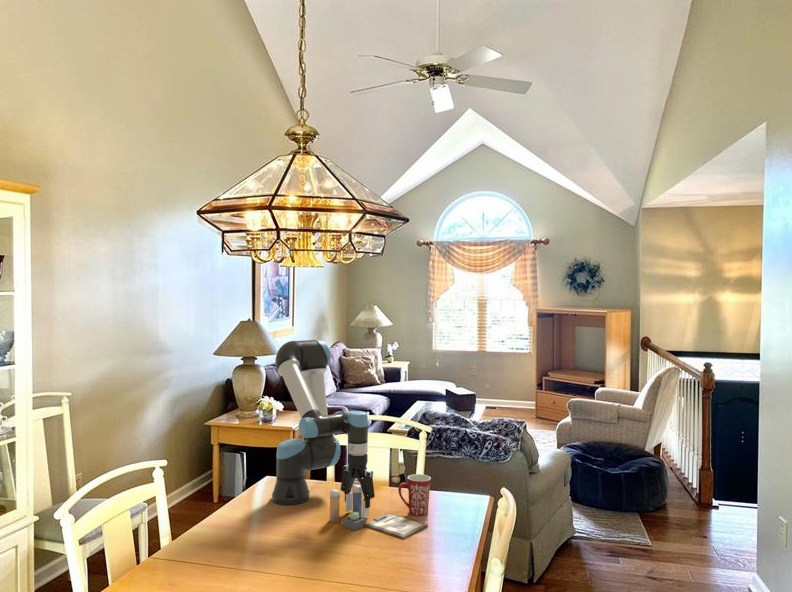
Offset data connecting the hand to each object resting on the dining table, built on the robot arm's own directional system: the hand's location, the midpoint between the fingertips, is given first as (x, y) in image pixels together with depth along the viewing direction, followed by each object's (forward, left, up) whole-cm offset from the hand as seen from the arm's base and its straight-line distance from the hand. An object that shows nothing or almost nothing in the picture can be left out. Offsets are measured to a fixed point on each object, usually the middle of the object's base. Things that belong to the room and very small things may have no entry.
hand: (357, 513), depth 223 cm
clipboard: (+18, +1, -1) cm, 18 cm away
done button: (+6, -8, +1) cm, 10 cm away
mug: (+15, +16, -1) cm, 22 cm away
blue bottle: (0, 0, -1) cm, 1 cm away
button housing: (+6, -8, -1) cm, 10 cm away
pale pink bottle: (-3, -9, -1) cm, 10 cm away
